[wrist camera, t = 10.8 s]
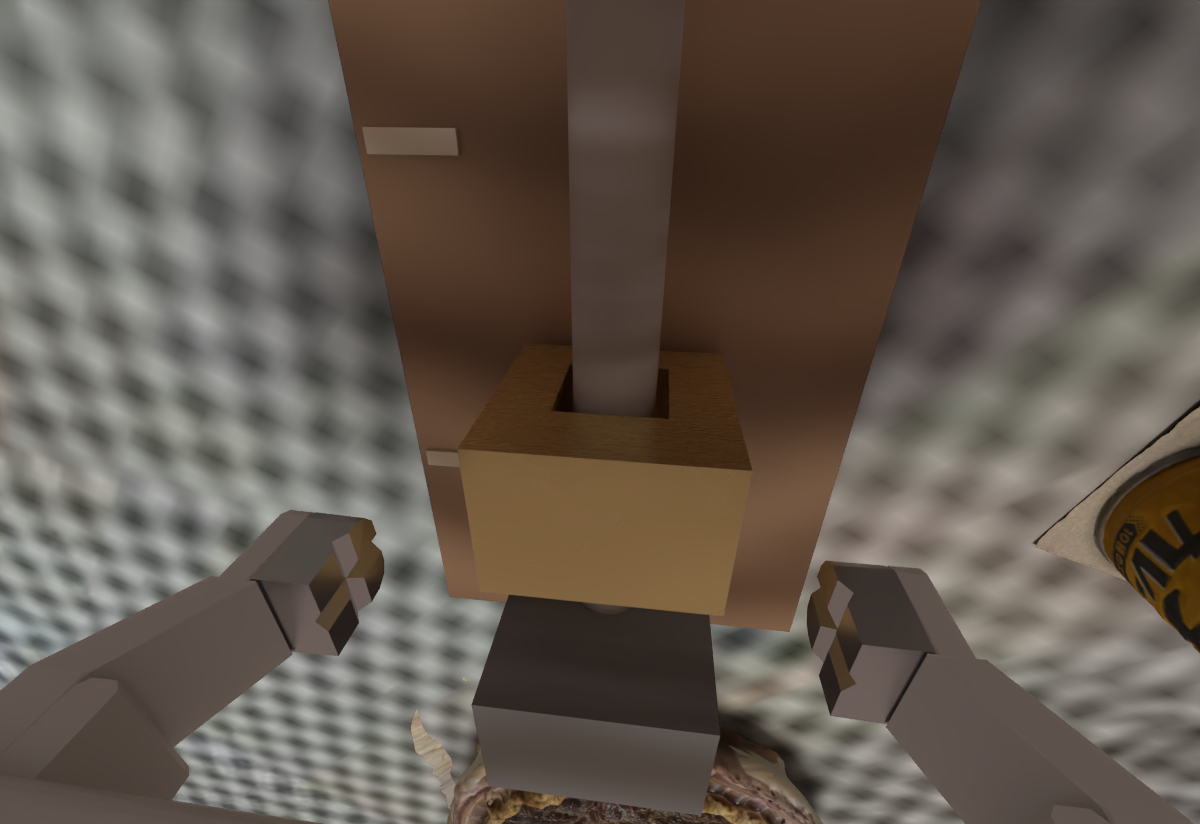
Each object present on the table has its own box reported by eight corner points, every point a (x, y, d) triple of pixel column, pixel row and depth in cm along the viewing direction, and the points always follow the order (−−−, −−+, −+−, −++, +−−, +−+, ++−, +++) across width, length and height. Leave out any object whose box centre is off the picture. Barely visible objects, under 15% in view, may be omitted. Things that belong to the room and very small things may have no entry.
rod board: (341, -107, 12) (-233, -528, 4) (986, -130, 10) (1815, -804, 3) (462, 569, 22) (363, 784, 15) (781, 601, 21) (844, 853, 14)
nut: (526, 343, 14) (457, 449, 10) (722, 353, 14) (752, 470, 9) (533, 457, 16) (479, 591, 12) (706, 470, 16) (723, 616, 11)
